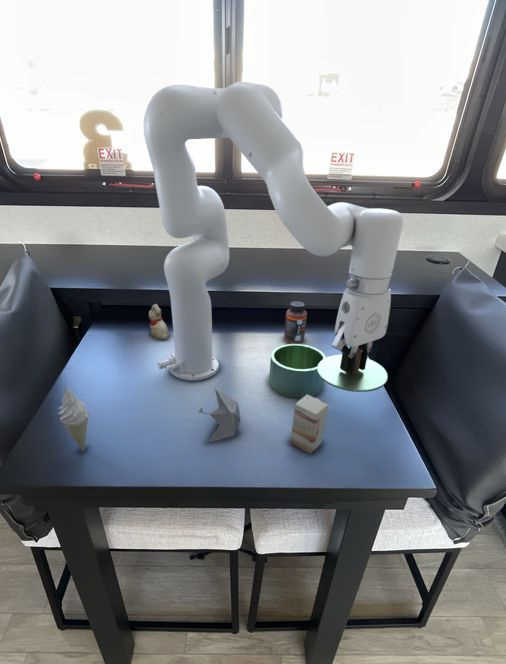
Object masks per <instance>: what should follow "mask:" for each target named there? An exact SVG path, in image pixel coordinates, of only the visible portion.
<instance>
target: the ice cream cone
mask: <svg viewBox="0 0 506 664" xmlns="http://www.w3.org/2000/svg"><path fill="white" fill-rule="evenodd" d="M61 399H62V401H61V402H62V405H61V406H60V407H58V410H60V411H59V412H58V413H57V414H58V415H59V416H61V417H60V418H59V421H60V423H61V424H62V425H63V427H64V428H65V429H66V430H67V432H68V433H69V435H70V436H71V438H72V440H74V442H75V443H76V445H77V446H78V448H79V449H80V450H81V451H82V452H84V451H85V446H86V439H87V432H88V425H89V424H88V423H89V417H90V413H89V412H88V410H87V405H86V404H85V403H84V402H83V401H82V400H79V399H78V396H77V395H76V394H74V393H73V392H72V391H71V390H70V389H69V387H68V386H65V390H64V394H63V396H62V398H61Z"/></svg>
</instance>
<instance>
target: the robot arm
mask: <svg viewBox="0 0 506 664" xmlns="http://www.w3.org/2000/svg"><path fill="white" fill-rule="evenodd" d="M283 112H284V111H283V104H282V101H281V99H280V97H279V94H277V92H276V91H275V90H274V89H273V88H271V87H270V86H269V85H265V84H261V83H255V82H249V81H237V82H234V83H232V84H230V85H228V86H227V87H218V88H217V87H215V88H214V87H213V88H212V87H203V86H195V85H188V84H172V85H168V86H165V87H162V88H161V89H159V90H157V91H156V92H155V93H154V95H152V97H151V98H150V99H149V101H148V103H147V105H146V108H145V111H144V116H143V136H144V140H145V144H146V148H147V153H148V155H149V159H150V163H151V165H152V166H151V167H152V171H153V176H154V184H155V189H156V194H157V201H158V206H159V211H160V216H161V222H162V226H163V227H164V230H165V232H166V233H167V234H168V235H169V236H171V238H174V239H186V238H190V237H192V238H193V239H192V241H189V242H186V243H183V244H181V245H178V246H177V247H174V248H173V249H172V250H170V252H169V253H168V254H167V255H166V256H165V260H164V262H163V271H164V277H165V280H166V283H167V287H168V292H169V298H170V308H171V318H172V331H173V346H174V352H171V353H170V355H171V357H168V358H167V359H165V360H161V361H160V360H159V361H157V362H156V365H157V368H158V370H162V369H165V370H166V372H170V373H171V374H172V375H173V376H174V377H176V378H178V379H180V380H183V381H202V380H205V379H210V378H211V377H213V376H214V375H216V373H218V371H219V367H220V365H219V361H218V360H217V359H216V357H214V356H213V314H212V313H213V312H212V300H211V296H210V294H209V292H208V290H207V283H208V282H209V281H211V280H213V279H215V278H217V277H218V276H221V275H222V274H223V273H224V272H226V270H227V268H228V266H229V263H230V244H229V236H228V227H227V218H226V211H225V207H224V203H223V200H222V198H221V197H220V195H219V194H218V193H217V192H216V191H215V189H213V188H211V187H209V186H207V185H198V181H197V171H196V166H195V162H194V160H193V156H192V154H191V152H190V150H189V149H188V147H187V145H186V142H187V141H189V140H204V139H205V140H207V139H230V141H231V142H232V143H233V144H234V145H235V147H236V148H237V149H238V151H240V153H241V154H242V155H243V156H244V158H245V159H246V160H247V161H248V162H249V164H250V165H251V166H252V167H253V168H254V170H255V171H256V173H258V175H259V176H260V178H262V180H263V181H264V183H265V184H266V187H267V191H268V196H269V198H270V200H271V202H272V203H271V204H272V205H273V208H274V210H275V212H276V214H277V216H278V218H279V219H280V221H281V223H282V224H283V225H284V226H285V228H286V229H287V230H288V232H289V233H290V234H291V236H293V238H294V239H295V240H296V241H297V242H298V243H299V245H301V247H302V248H304V250H306V252H309V254H312V255H314V256H318V257H327V256H331V255H333V254H335V253H336V252H339V250H341V249H343V248H346V247H349V246H351V255H350V260H349V268H348V273H347V280H346V281H345V285H344V286H345V289H344V290H343V294H342V297H341V300H340V304H339V308H338V311H337V316H336V320H335V325H334V326H335V327H334V339H333V340H332V343H331V348H333V349H335V350H336V351H339V352H340V353H341V355H342V358H341V364H340V369H341V370H343V371H345V372H346V373H348V374H349V375H351V374H353V372H354V366H355V361H356V357H354V354H355V350H356V347H359V348H361V349H362V356H361V361H360V366H359V369H361V370H365V367H366V362H367V359H368V357H369V353H370V352H371V351H372V347H373V345H374V344H375V342H376V341H377V340H380V339H381V338H383V337H384V336H385V335H386V333H387V329H388V324H389V318H390V312H391V302H392V299H391V298H392V293H391V291H392V290H391V288H390V285H391V281H392V278H393V277H392V276H393V272H394V268H395V262H396V257H397V254H398V253H397V252H398V248H399V243H400V238H401V234H402V229H403V224H404V217H403V215H402V213H401V212H399V211H397V210H394V209H389V208H368V207H364V206H360V205H357V204H354V203H350V202H342V201H341V202H340V201H339V202H335V203H332V204H330V205H327V204H326V203H325V201H324V200H323V199H322V198H321V197H320V196H319V194H318V193H317V192H316V190H315V189H314V188H313V186H312V185H311V183H310V181H309V180H308V178H307V175H306V173H305V172H306V171H305V169H304V156H305V154H304V153H305V150H304V146H303V144H302V142H301V141H300V140H299V138H298V137H296V135H295V133H294V132H293V131H292V130H291V129H290V127H288V125H287V124H286V122H285V121H284V120H283Z"/></svg>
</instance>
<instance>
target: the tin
mask: <svg viewBox="0 0 506 664" xmlns="http://www.w3.org/2000/svg"><path fill="white" fill-rule="evenodd" d="M325 358H327V356H326V354H325V353H324V352H323V351H322V350H320V349H318V348H317V347H314V346H311V345H307V344H302V343H289V344H283V345H279V346H278V347H275V348H274V349H272V351H271V352H270V360H269V361H270V363H269V375H268V377H269V378H268V379H269V380H268V382H269V386H270V387H271V389H272V390H273V391H275V393H278V394H279V395H281V396H284V397H288V398H292V399H301V398H303V397H304V396H306V395H307V394H308V395H310V396H312V397H315V396H316V395H318V394H319V393H320V392H321V391H322V389H323V386H324V382H325V381H323V380H322V379H321V378H320V376H319V375H318V372H317V367H318V364H319V362H320V361H322V360H323V359H325Z"/></svg>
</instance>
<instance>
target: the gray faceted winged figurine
mask: <svg viewBox="0 0 506 664" xmlns="http://www.w3.org/2000/svg"><path fill="white" fill-rule="evenodd" d="M214 391H215V396H216V400H217V404H218V408H217V409H215V410H213V411H212V412H210V413H207V412H203V407H201V408H200V409H199V410H198V411H197V413H200V414H205V415H209V416H210V417H211V418H212V419H213V420H214V421H215V422H216V423H217V424H218V425H219V426H218V427H217V428H216V430H215V431H214V433H213V434H212V436H211V438H210V439H209V441H208V443H213V442H216V441H220V440H224V439H227V438H232V437H235V436H236V433H237V431H238V429H239V426H240V422H241V413H240V406H239V403H238V401H237V400H235V399H233V398H231V397H230V396H229V395H227V394H225V393H223V392H221V390H218V389H217V388H214Z"/></svg>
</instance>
